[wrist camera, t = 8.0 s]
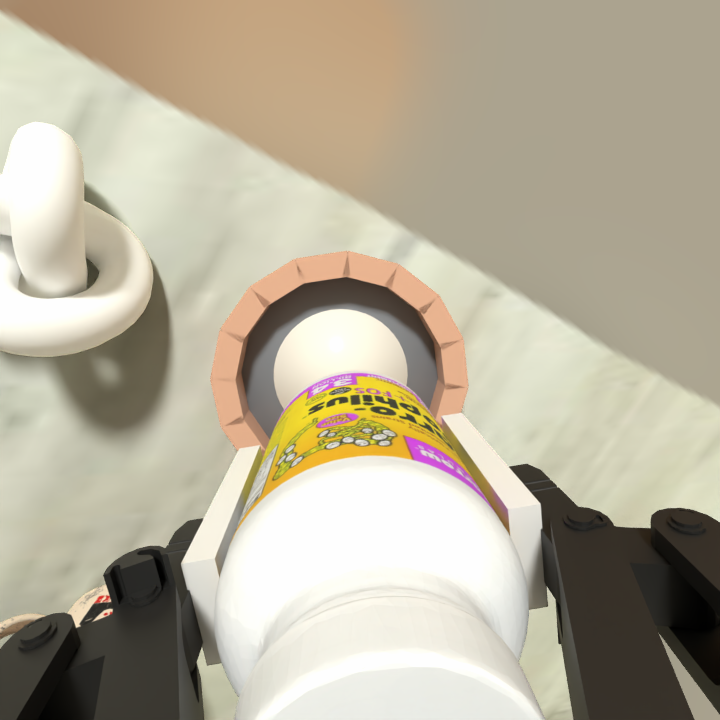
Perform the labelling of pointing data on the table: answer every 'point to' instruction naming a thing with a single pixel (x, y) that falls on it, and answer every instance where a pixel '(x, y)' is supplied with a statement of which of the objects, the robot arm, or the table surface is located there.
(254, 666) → the supplement bottle
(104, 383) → the table surface
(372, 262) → the saucer tray
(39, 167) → the white decorative knot
